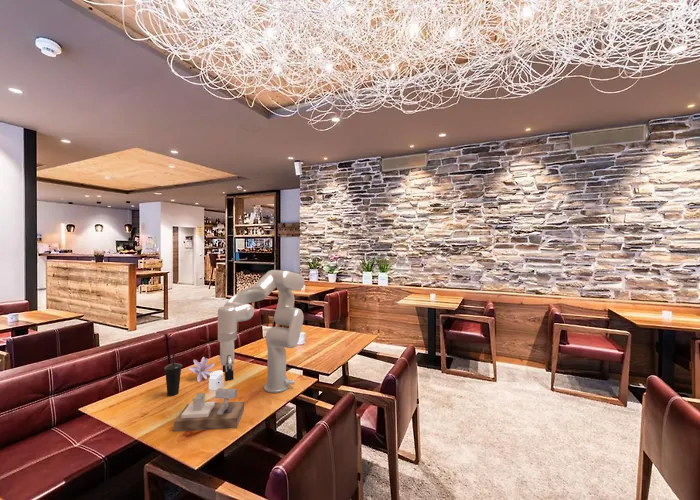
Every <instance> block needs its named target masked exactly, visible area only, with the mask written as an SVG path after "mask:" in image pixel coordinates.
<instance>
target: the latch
mask: <svg viewBox="0 0 700 500" xmlns="http://www.w3.org/2000/svg"><path fill="white" fill-rule="evenodd" d="M237 397H238V388H217V389H216V390H215V399H223V402H224V404H223V405H222V406H221V408H220V409H219V410H218V411H217V414H223V413H224V411H225V410H227V409H228V408H229V402H230V401H229V400H230V399H233V400H235V399H236V398H237Z"/></svg>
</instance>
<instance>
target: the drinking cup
mask: <svg viewBox="0 0 700 500" xmlns="http://www.w3.org/2000/svg"><path fill="white" fill-rule="evenodd" d="M182 368H183V364H182V363H179V362H177V363H176V362H175V353H172V363H170V364H168V365H166V366H164V371H165V373H164V374H165V381H166V382H165V384H166V385H165V386H166V394H167V396H168V397H173V396H176V395H178V394H179V392H180V383H181V374H182Z"/></svg>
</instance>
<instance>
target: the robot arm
mask: <svg viewBox="0 0 700 500" xmlns="http://www.w3.org/2000/svg"><path fill="white" fill-rule="evenodd" d="M304 286H305V277H304V276H303V275H302V274H301V273H296V272H293V271H289V270H280V269H271V270H268V271H267V272H266V273H265V274H264V275H263V276H261V277H260V279H258V281H256V282H255V284H253V285H251V286H250V287H249V286H248V287H247V288H245V289H242V290H241V291H239V292H236V294H234V295H232V297H231V298H229V299H228V300H227V301H226V302H225V304H224V305H223V306H221V307H219V308H218V309H217V341H218V342H219V363H220V365H221V367H222V372H223V373H224V381H225V382H230V381H234V377H235V376H234V366H233V365H234V364H235V341H236V340H237V339H238V325H237V324H238V322H246V321H249V320H251V319H252V318H253V317H254V314H255V309H254V307H253V305H251V303H255V302H259V301H263V300H265V299H266V298H268V296H270V294H271V293H272V292H273V291H274V290H275V289H277V292H278V301H277V306H276V308H275V312H274V317H273V321H274V323H275V324H277V325H281V326H282V327H281V326H271V327H269V328H268V329H267V331H266V334H265V342H266V346H267V347H266V348H267V368H266V369H267V371H266V375H267V377H266V378H267V379H266V382H267V383H265V384H264V385H263V390H264V391H265V392H266V393H271V394H274V393H275V394H276V393H283V392H285V391H287V390H288V389H289V388H290V385H293V386H294V385H295V380H293V378H292V379H291V378H290V379H288V377H287V351H286V348H287V349H294V348H295V347H296V346H297V345H298V343H299V340H300V337H301V331H302V328H303V323H304V318H305V316H304V313H303V311H302V309H300V308H297V307H294V306H295V299H296V298H295V295H294V292H293V291H300V290H301V289H303V288H304ZM249 303H250V304H249ZM283 326H287V327H288V328H287V327H283Z"/></svg>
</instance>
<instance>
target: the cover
mask: <svg viewBox="0 0 700 500" xmlns="http://www.w3.org/2000/svg"><path fill="white" fill-rule="evenodd" d="M205 395H206V393H205V392H198V393H196V395H195V396H194V397H193V398H192V402H189V403H188V404H189V406H188V407H187V408H186V409H185V411H184V412H183V413H182V415H181V418H200V417H208V416H209V414H210V412H211V411H212V409H213V407H214V406H215V403H216V401H205V400H206V399H205Z"/></svg>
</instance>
